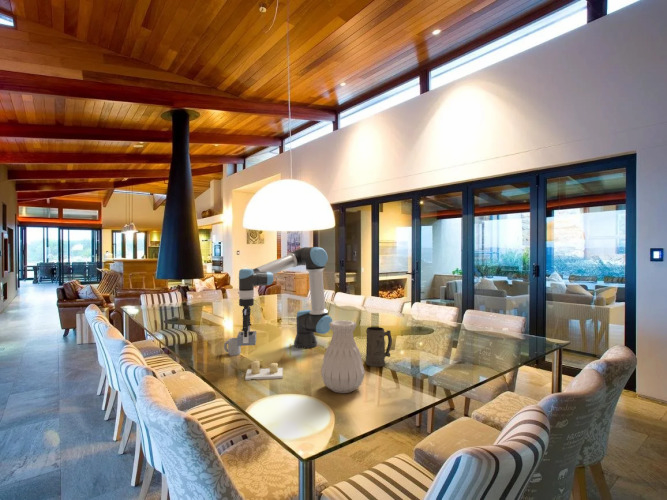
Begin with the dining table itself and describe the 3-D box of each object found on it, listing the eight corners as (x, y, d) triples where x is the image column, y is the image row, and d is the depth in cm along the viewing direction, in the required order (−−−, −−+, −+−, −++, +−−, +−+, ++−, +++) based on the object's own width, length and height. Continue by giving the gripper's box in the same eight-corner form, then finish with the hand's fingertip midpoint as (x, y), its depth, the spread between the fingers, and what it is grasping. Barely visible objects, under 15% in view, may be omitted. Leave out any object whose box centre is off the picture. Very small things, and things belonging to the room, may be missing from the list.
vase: (351, 401, 149) (351, 329, 149) (312, 391, 160) (312, 324, 160) (372, 385, 166) (372, 321, 166) (335, 377, 177) (335, 316, 176)
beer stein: (371, 368, 191) (373, 330, 191) (360, 362, 200) (362, 326, 201) (394, 365, 198) (396, 329, 198) (383, 360, 207) (385, 325, 208)
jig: (282, 370, 188) (282, 357, 188) (282, 378, 176) (282, 364, 176) (247, 371, 185) (247, 358, 185) (245, 380, 173) (245, 366, 173)
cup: (238, 355, 212) (238, 340, 212) (222, 355, 212) (222, 340, 212) (242, 352, 220) (242, 337, 220) (225, 352, 220) (225, 337, 220)
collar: (256, 340, 195) (256, 331, 195) (255, 345, 186) (254, 335, 186) (239, 340, 194) (239, 331, 194) (237, 345, 185) (237, 336, 185)
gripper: (241, 295, 200) (241, 335, 200) (236, 301, 178) (236, 346, 179) (255, 295, 201) (255, 335, 201) (251, 301, 179) (252, 345, 180)
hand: (246, 340), depth 190 cm, fingers closed on collar, 9 cm apart
